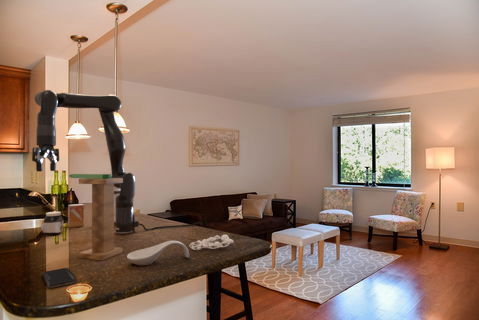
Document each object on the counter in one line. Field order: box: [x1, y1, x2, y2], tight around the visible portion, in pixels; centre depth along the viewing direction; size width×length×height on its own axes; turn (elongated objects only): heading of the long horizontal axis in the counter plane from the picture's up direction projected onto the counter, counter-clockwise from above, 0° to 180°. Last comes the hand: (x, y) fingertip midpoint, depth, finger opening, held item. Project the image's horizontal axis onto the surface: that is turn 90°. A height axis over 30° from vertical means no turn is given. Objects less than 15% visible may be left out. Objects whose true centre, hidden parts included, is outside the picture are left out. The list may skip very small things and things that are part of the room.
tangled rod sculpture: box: [188, 234, 234, 252], centre depth 146 cm, size 19×14×4 cm
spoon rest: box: [126, 240, 191, 266], centre depth 126 cm, size 24×12×7 cm, turn 116°
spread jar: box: [40, 211, 64, 237], centre depth 176 cm, size 12×11×12 cm
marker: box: [68, 173, 112, 179], centre depth 137 cm, size 21×2×2 cm, turn 71°
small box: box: [67, 203, 85, 228], centre depth 197 cm, size 8×6×13 cm
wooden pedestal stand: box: [78, 178, 124, 261], centre depth 135 cm, size 14×12×32 cm
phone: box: [42, 267, 77, 289], centre depth 107 cm, size 8×1×15 cm
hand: (46, 171), depth 145 cm, fingers open, 8 cm apart
